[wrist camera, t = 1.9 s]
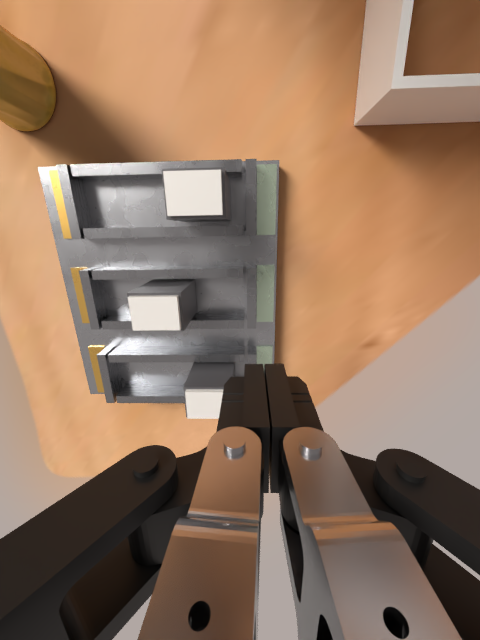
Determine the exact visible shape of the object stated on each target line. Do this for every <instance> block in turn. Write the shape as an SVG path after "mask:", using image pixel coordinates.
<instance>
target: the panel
mask: <svg viewBox="0 0 480 640" xmlns="http://www.w3.org/2000/svg"><path fill="white" fill-rule="evenodd" d="M215 167H225V170H226V173H227V175H228V178H229V180H230V194H231V221H202V222H182V221H174V220H167V219H166V209H165V199H164V189H163V179H162V169H179V168H215ZM38 171H39V175H40V179H41V183H42V188H43V192H44V196H45V201H46V205H47V209H48V213H49V218H50V222H51V226H52V231H53V235H54V239H55V243H56V248H57V252H58V256H59V261H60V265H61V269H62V274H63V278H64V282H65V286H66V291H67V295H68V299H69V304H70V308H71V312H72V316H73V321H74V325H75V329H76V334H77V338H78V342H79V346H80V351H81V355H82V359H83V364H84V368H85V372H86V376H87V381H88V385H89V389H90V394H105V397H106V402H107V403H115V402H116V400H117V403H185V398H184V388H183V387H184V385H185V382H186V380H187V377H188V375H189V373H190V370H191V368H192V365H193V363H194V362H235V377H244V368H245V364H263V367H264V364H274V346H275V307H276V268H277V230H278V191H279V160H272V161H256V159H246V161H242V160H241V159H237V160H202V161H167V162H132V163H97V164H70V166H69V165H67V164H62V165H56V167H38ZM175 279H195V285H196V298H197V312H196V313H195V315H194V316H193V318H192V319H191V321H190V323H189V324H188V326H187V327H186V329H185V330H184V331H133V329H132V323H131V316H130V310H129V304H128V297H127V293H128V292H130V291H132V290H134V289H136V288H138V287H140V286H142V285H143V284H145V283H147V282H149V281H151V280H175Z"/></svg>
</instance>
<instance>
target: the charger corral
mask: <svg viewBox="0 0 480 640" xmlns="http://www.w3.org/2000/svg"><path fill="white" fill-rule="evenodd" d="M413 3H414V0H366V10H365V20H364V30H363V40H362V49H361V59H360V69H359V79H358V89H357V99H356V109H355V118H354V126H362V125H392V124H423V123H454V122H480V73H471V74H445V75H419V76H403V72H404V66H405V59H406V52H407V45H408V38H409V31H410V24H411V17H412V10H413Z"/></svg>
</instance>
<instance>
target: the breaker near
mask: <svg viewBox="0 0 480 640" xmlns="http://www.w3.org/2000/svg"><path fill="white" fill-rule="evenodd" d="M162 179H163V189H164V199H165V209H166V219H167V220H174V221H182V222H202V221H231V194H230V180H229V178H228V175H227V173H226V170H225V167H215V168H179V169H162Z"/></svg>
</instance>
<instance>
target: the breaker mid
mask: <svg viewBox="0 0 480 640" xmlns="http://www.w3.org/2000/svg"><path fill="white" fill-rule="evenodd" d="M127 297H128V304H129V310H130V316H131V323H132V329H133V331H184V330H185V329H186V327H187V326H188V324H189V323H190V321H191V319H192V318H193V316H194V315H195V313H196V312H197V298H196V285H195V279H175V280H151V281H149V282H147V283H145V284H143V285H142V286H140V287H138V288H136V289H134V290H132V291H130V292H128V293H127Z"/></svg>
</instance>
